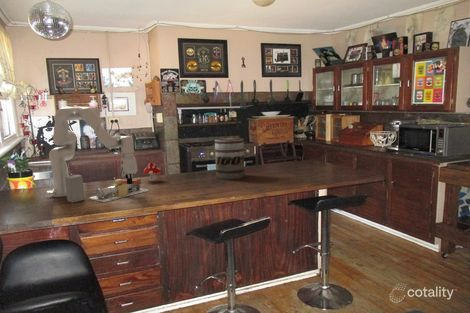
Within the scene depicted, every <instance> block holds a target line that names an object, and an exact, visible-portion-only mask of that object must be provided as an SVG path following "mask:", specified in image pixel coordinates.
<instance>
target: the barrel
mask: <svg viewBox="0 0 470 313" xmlns="http://www.w3.org/2000/svg"><path fill="white" fill-rule="evenodd" d="M214 152H215V154H214V155H215V158H214V159H215V177H216V179H217V178H218V180H221V179H222V180H223V181H234V179H236V180H241V179H240V178H242V179H244V178H245V175H246V174H245V173H246V172H245V139H244V138H242V137H224V138H222V137H221V138H216V139H214ZM243 177H244V178H243Z"/></svg>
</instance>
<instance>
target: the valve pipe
mask: <svg viewBox="0 0 470 313" xmlns="http://www.w3.org/2000/svg"><path fill="white" fill-rule="evenodd" d="M147 192H149V189H147V188H142V183H141V184H118V185H117V184H116V183H114V184H111V186H108V187H104V188H96V190H95V195H94V196H90V197H88V199H89V200H92V201H95V202H101V203H106V202H112V201H115V200H119V199H123V198H126V197H131V196H134V195H139V194H143V193H147Z"/></svg>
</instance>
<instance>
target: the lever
mask: <svg viewBox="0 0 470 313" xmlns="http://www.w3.org/2000/svg"><path fill="white" fill-rule="evenodd" d="M114 182H115V183H114V184H117V185H118V184H127V179H122V178H118V179H115V181H114ZM132 184H141V185H142V178H136V179H132Z"/></svg>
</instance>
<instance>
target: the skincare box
mask: <svg viewBox="0 0 470 313" xmlns="http://www.w3.org/2000/svg"><path fill="white" fill-rule="evenodd" d="M65 182H66V191H67V196H66V199H67V202H68V203H71V202H72V203H71V204H74V203H77V202H81V201H84V200H85V190H84V179H83V175H80V174H73V175H69V176H68V177H65ZM73 202H74V203H73Z"/></svg>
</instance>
